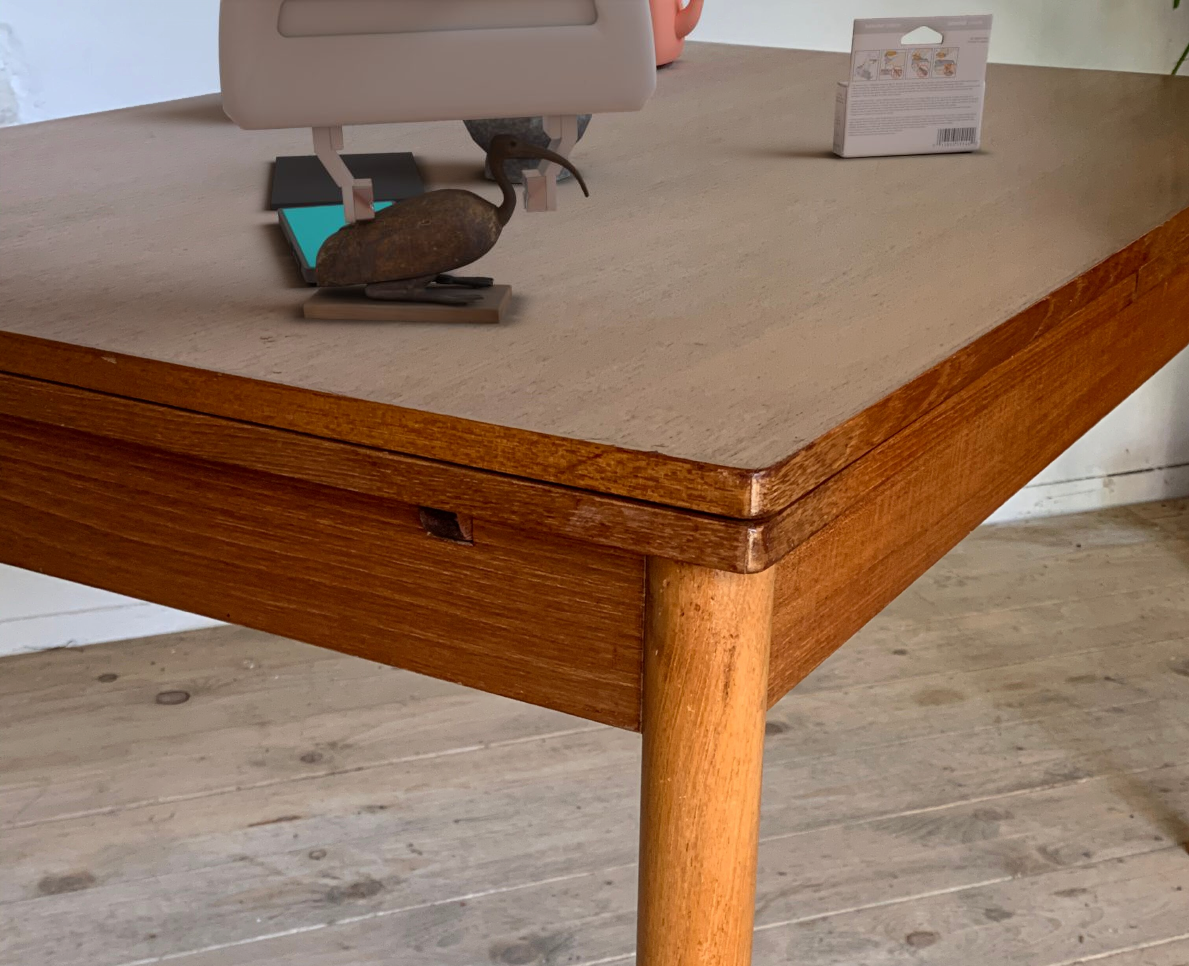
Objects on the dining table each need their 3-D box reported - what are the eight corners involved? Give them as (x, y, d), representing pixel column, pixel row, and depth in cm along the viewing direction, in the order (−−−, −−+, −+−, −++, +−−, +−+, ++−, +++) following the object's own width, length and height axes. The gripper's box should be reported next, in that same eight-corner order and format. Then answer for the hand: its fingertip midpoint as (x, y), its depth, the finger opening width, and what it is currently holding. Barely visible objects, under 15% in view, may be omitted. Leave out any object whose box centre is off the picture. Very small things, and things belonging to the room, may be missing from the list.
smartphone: (394, 199, 89) (441, 257, 76) (395, 213, 89) (441, 273, 77) (275, 208, 87) (303, 268, 74) (276, 221, 87) (304, 284, 75)
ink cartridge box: (830, 152, 108) (840, 14, 103) (965, 146, 110) (981, 10, 105) (841, 159, 106) (852, 18, 101) (979, 152, 108) (996, 14, 103)
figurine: (594, 302, 73) (593, 127, 69) (584, 328, 69) (584, 144, 65) (327, 295, 74) (311, 122, 70) (303, 320, 70) (285, 139, 66)
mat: (271, 209, 91) (270, 203, 91) (276, 161, 105) (276, 156, 105) (427, 203, 92) (426, 197, 92) (412, 157, 106) (411, 151, 106)
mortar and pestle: (566, 157, 106) (564, -17, 101) (617, 180, 99) (618, -6, 93) (422, 169, 102) (412, -11, 97) (464, 195, 95) (455, 1, 89)
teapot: (575, 55, 159) (574, -47, 154) (732, 61, 154) (737, -44, 149) (541, 68, 149) (539, -40, 144) (708, 75, 144) (712, -36, 139)
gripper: (644, -107, 67) (644, 189, 74) (202, -96, 64) (243, 212, 71) (673, -103, 62) (671, 216, 68) (192, -91, 59) (237, 242, 65)
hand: (450, 215), depth 69 cm, fingers open, 7 cm apart
